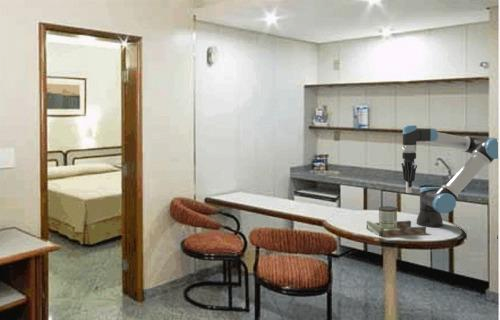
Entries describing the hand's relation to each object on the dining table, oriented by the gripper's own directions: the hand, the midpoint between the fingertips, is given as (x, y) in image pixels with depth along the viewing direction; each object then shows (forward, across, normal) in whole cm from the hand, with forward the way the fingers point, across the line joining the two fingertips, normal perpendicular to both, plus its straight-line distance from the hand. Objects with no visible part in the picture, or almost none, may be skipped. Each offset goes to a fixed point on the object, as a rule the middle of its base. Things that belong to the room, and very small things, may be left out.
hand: (408, 192), depth 269 cm
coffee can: (+23, 0, -13) cm, 26 cm away
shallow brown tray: (+22, 0, -8) cm, 24 cm away
